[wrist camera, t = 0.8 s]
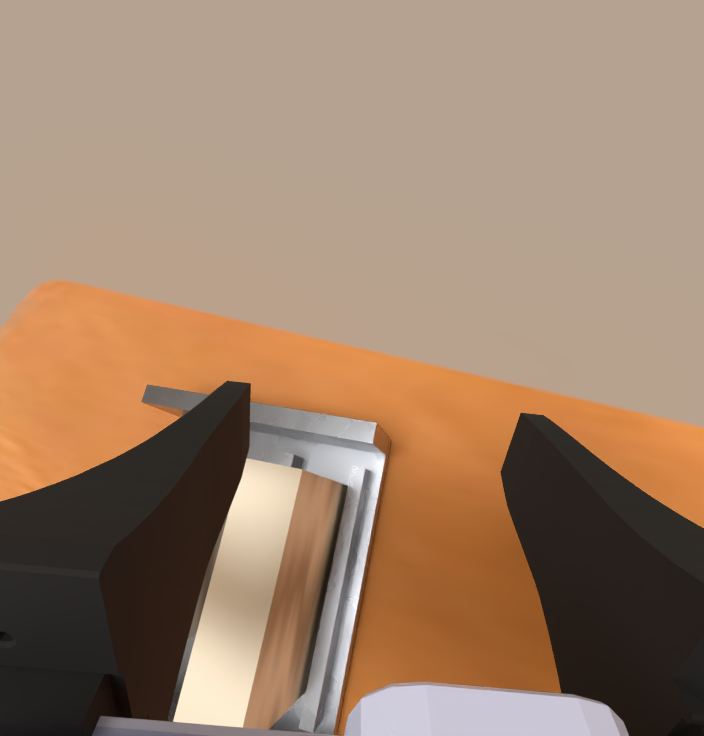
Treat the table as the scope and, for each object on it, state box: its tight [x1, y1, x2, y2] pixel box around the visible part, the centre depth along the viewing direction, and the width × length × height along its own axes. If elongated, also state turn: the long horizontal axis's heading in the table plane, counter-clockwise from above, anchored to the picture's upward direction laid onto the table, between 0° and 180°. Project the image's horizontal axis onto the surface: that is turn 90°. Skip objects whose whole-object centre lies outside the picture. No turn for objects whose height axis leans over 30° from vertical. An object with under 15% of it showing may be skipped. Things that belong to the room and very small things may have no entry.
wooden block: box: [173, 458, 348, 730], centre depth 22 cm, size 10×3×8 cm, turn 168°
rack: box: [142, 385, 391, 735], centre depth 25 cm, size 16×13×5 cm
